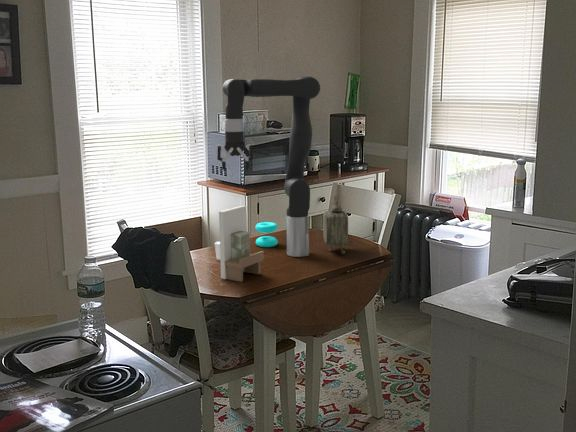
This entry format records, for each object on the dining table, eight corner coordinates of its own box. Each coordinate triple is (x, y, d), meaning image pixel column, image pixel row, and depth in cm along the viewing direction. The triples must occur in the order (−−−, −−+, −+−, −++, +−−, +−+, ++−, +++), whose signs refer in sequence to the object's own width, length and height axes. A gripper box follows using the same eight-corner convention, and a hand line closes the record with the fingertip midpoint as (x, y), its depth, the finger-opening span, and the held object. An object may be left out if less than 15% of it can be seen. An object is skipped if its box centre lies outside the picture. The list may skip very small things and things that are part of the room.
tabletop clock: (347, 255, 271) (348, 198, 266) (326, 255, 270) (327, 198, 265) (342, 246, 285) (343, 192, 280) (322, 247, 284) (323, 192, 279)
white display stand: (264, 273, 246) (263, 208, 241) (241, 282, 235) (240, 214, 229) (243, 269, 251) (242, 205, 246) (221, 278, 240) (218, 211, 235)
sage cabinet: (252, 257, 242) (251, 232, 240) (243, 261, 238) (242, 235, 236) (240, 255, 245) (240, 230, 243) (231, 259, 241) (231, 233, 239)
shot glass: (224, 261, 263) (224, 245, 262) (211, 259, 267) (211, 243, 265) (234, 257, 269) (234, 241, 267) (221, 255, 272) (221, 239, 271)
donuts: (271, 220, 294) (281, 224, 285) (271, 241, 296) (281, 246, 288) (251, 223, 289) (261, 227, 281) (252, 244, 291) (262, 249, 283)
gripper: (251, 129, 256) (252, 169, 259) (216, 129, 254) (217, 169, 258) (252, 130, 249) (253, 171, 252) (216, 131, 247) (217, 172, 250)
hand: (235, 170), depth 255 cm, fingers open, 8 cm apart
